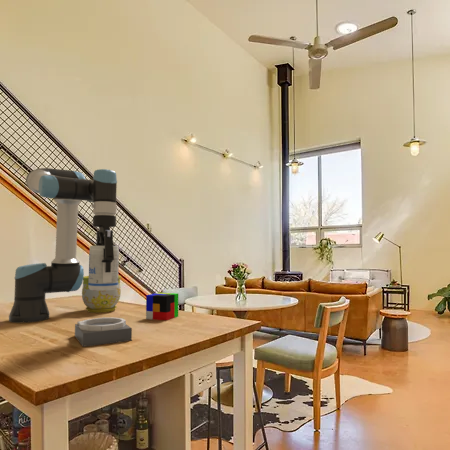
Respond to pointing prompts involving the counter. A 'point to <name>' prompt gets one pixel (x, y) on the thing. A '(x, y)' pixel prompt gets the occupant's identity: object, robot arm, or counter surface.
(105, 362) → the counter surface
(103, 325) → the grey square ring block
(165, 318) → the puzzle toy
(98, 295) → the flowerpot
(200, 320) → the counter surface
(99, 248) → the supplement tub
